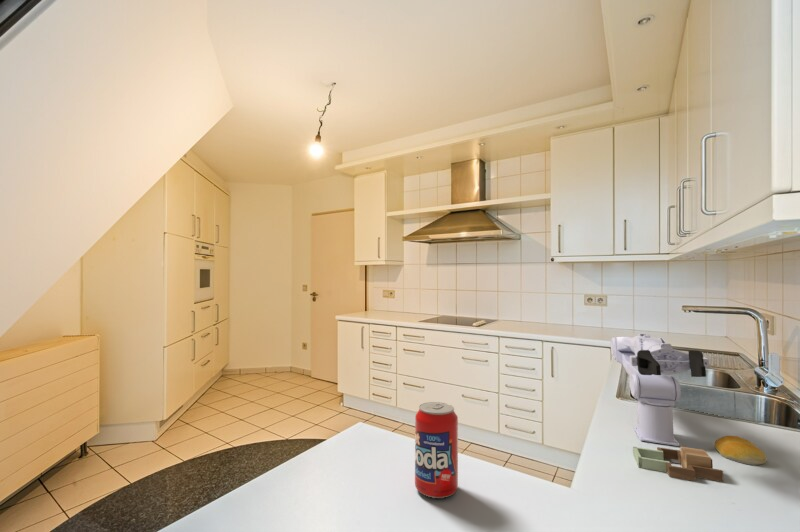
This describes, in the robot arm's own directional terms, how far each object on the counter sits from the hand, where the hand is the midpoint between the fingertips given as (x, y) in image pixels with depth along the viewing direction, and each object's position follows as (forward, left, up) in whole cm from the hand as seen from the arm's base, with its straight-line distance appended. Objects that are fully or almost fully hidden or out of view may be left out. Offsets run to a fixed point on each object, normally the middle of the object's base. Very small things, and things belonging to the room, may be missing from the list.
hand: (680, 371), depth 76 cm
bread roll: (-16, +14, -21) cm, 30 cm away
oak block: (-3, +3, -21) cm, 21 cm away
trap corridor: (-3, -1, -21) cm, 21 cm away
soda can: (+26, -44, -21) cm, 55 cm away
